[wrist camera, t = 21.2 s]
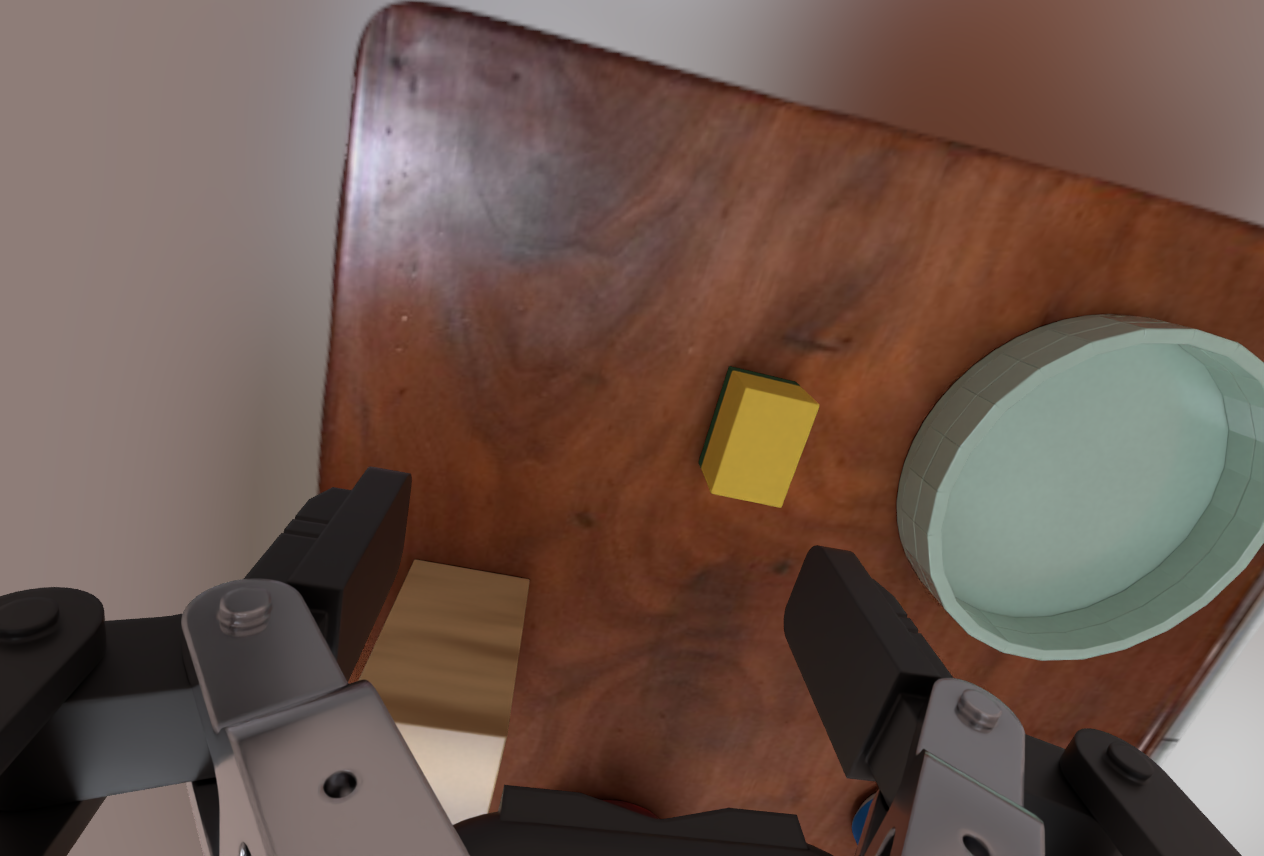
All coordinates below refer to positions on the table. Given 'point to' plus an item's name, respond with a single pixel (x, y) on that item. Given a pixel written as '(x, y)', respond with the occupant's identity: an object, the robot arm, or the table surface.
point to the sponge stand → (452, 676)
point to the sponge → (756, 437)
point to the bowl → (1088, 485)
